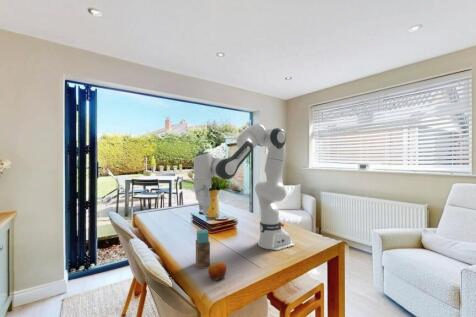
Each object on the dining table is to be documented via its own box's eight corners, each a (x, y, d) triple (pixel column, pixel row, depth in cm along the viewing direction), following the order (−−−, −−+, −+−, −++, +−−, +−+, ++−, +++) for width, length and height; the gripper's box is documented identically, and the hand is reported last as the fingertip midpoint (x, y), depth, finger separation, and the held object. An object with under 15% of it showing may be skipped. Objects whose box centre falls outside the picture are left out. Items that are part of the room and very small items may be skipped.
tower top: (207, 250, 119) (207, 238, 119) (209, 254, 114) (209, 242, 113) (195, 251, 117) (195, 239, 117) (197, 256, 112) (197, 244, 111)
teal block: (206, 239, 118) (206, 229, 118) (208, 242, 114) (208, 232, 114) (196, 240, 117) (196, 230, 117) (198, 243, 112) (198, 233, 112)
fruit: (216, 282, 96) (211, 263, 100) (208, 285, 102) (204, 266, 105) (232, 277, 101) (227, 258, 104) (224, 279, 107) (219, 261, 110)
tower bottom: (207, 261, 119) (207, 250, 119) (209, 266, 114) (209, 254, 114) (195, 263, 117) (195, 251, 117) (197, 268, 112) (197, 256, 112)
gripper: (213, 186, 106) (213, 216, 106) (204, 182, 125) (204, 207, 126) (200, 187, 104) (200, 217, 104) (193, 182, 123) (193, 208, 124)
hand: (202, 212), depth 115 cm, fingers open, 8 cm apart
